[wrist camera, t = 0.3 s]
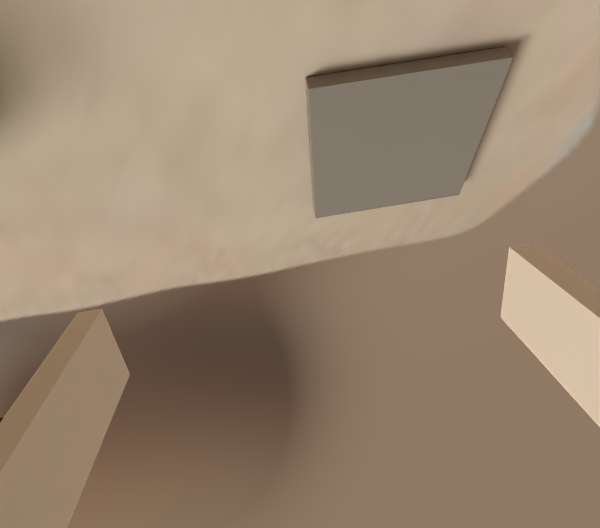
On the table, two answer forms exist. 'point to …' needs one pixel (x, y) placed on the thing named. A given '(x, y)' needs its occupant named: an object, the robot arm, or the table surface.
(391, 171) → the slate board
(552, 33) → the table surface
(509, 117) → the table surface
